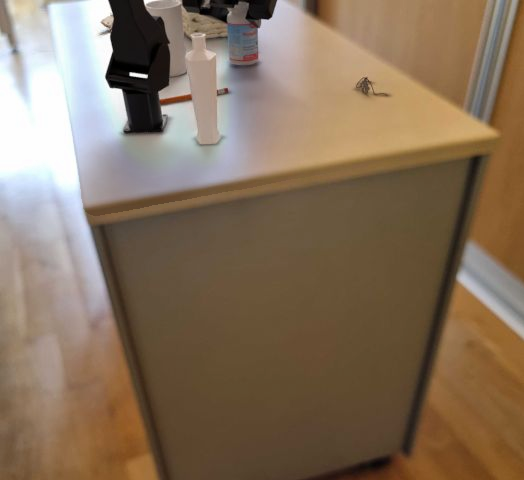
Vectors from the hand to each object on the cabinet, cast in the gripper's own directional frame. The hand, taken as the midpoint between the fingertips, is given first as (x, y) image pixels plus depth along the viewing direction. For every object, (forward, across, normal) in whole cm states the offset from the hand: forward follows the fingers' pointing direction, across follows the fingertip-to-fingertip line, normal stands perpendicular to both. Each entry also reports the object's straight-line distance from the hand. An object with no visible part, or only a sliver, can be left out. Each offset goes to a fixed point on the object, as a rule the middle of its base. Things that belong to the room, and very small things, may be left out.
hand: (245, 24), depth 114 cm
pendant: (0, -29, +10) cm, 31 cm away
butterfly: (+15, +45, -5) cm, 47 cm away
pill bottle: (+4, 0, +6) cm, 7 cm away
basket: (+19, +21, -9) cm, 30 cm away
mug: (-2, +12, +12) cm, 17 cm away
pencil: (-12, +1, +23) cm, 26 cm away
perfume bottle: (-21, -12, +32) cm, 40 cm away
